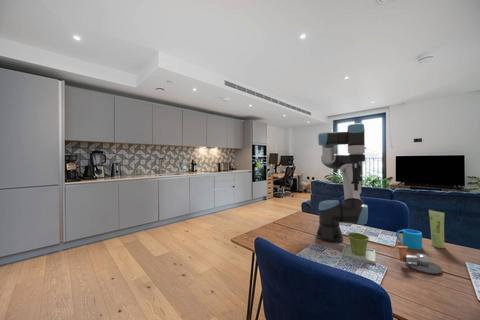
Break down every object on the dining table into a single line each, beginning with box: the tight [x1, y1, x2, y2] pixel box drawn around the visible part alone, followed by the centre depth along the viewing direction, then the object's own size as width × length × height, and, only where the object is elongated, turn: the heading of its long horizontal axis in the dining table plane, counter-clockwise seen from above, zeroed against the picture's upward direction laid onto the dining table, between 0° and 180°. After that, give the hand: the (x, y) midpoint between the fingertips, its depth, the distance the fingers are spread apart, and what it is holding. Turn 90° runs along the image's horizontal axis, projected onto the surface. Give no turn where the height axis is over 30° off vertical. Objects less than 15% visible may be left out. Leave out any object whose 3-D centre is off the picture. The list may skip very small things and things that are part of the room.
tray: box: [341, 243, 376, 265], centre depth 99 cm, size 14×14×1 cm
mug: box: [395, 228, 423, 250], centre depth 109 cm, size 12×8×8 cm
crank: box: [396, 245, 430, 266], centre depth 87 cm, size 12×4×7 cm, turn 82°
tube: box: [428, 209, 445, 249], centre depth 107 cm, size 6×5×20 cm
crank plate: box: [404, 260, 443, 276], centre depth 87 cm, size 12×12×1 cm
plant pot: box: [347, 232, 370, 255], centre depth 99 cm, size 9×9×9 cm
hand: (357, 195), depth 99 cm, fingers open, 13 cm apart
